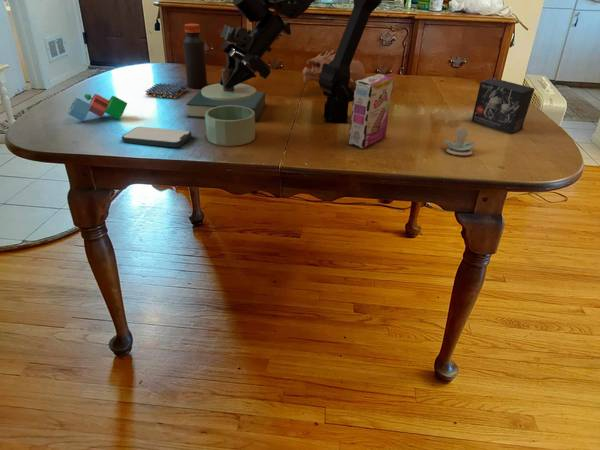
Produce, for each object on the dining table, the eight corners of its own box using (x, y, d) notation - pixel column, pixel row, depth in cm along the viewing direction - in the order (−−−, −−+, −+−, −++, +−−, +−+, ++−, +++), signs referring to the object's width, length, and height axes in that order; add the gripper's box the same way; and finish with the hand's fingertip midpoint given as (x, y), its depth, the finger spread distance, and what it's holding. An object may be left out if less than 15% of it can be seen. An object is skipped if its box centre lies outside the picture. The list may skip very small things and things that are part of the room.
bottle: (188, 89, 156) (182, 26, 146) (186, 84, 162) (180, 23, 151) (208, 88, 158) (203, 26, 147) (206, 83, 163) (201, 22, 153)
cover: (243, 85, 122) (242, 61, 119) (265, 98, 113) (264, 73, 109) (194, 90, 117) (191, 65, 113) (212, 106, 107) (210, 79, 103)
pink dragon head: (370, 48, 159) (336, 44, 139) (369, 93, 163) (336, 95, 143) (336, 51, 166) (299, 47, 146) (336, 93, 170) (301, 95, 150)
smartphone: (120, 143, 115) (178, 149, 112) (119, 137, 114) (178, 143, 111) (138, 131, 123) (193, 136, 120) (137, 125, 122) (193, 130, 119)
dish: (243, 125, 128) (242, 102, 124) (263, 141, 119) (262, 116, 115) (200, 132, 122) (198, 108, 119) (217, 149, 113) (215, 124, 110)
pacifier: (475, 158, 113) (470, 148, 118) (481, 134, 110) (476, 125, 115) (445, 156, 114) (442, 146, 119) (450, 132, 111) (447, 123, 116)
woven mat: (176, 99, 146) (175, 93, 145) (144, 97, 147) (143, 90, 146) (188, 90, 155) (187, 84, 154) (158, 88, 156) (157, 82, 155)
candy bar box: (364, 150, 116) (371, 84, 107) (347, 144, 118) (353, 80, 109) (386, 138, 123) (395, 76, 114) (370, 133, 126) (378, 72, 117)
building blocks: (109, 135, 131) (66, 114, 125) (119, 112, 134) (78, 90, 128) (117, 126, 125) (72, 103, 119) (128, 102, 128) (85, 78, 122)
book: (265, 105, 144) (265, 92, 142) (255, 121, 131) (255, 108, 129) (203, 101, 146) (202, 88, 144) (187, 117, 132) (186, 103, 130)
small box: (470, 121, 137) (479, 80, 130) (482, 116, 140) (492, 77, 134) (511, 134, 128) (523, 91, 122) (523, 129, 132) (535, 87, 126)
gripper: (225, 6, 113) (186, 56, 114) (257, 17, 99) (212, 74, 101) (255, 38, 120) (218, 84, 122) (288, 52, 107) (246, 104, 108)
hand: (223, 86), depth 113 cm, fingers closed on cover, 3 cm apart
